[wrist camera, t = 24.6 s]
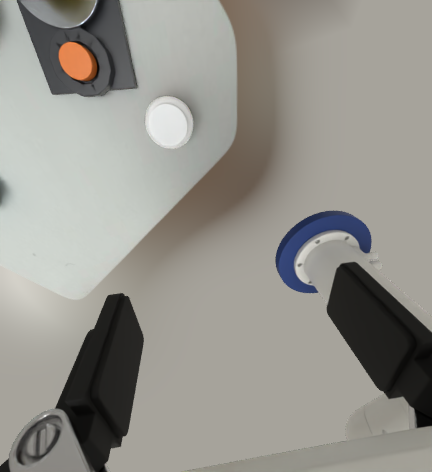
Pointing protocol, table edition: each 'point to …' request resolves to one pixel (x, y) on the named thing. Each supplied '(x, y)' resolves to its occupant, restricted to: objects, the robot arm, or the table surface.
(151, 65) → the table surface
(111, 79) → the scale
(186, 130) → the pill bottle
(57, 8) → the scale pan
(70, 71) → the tare button
